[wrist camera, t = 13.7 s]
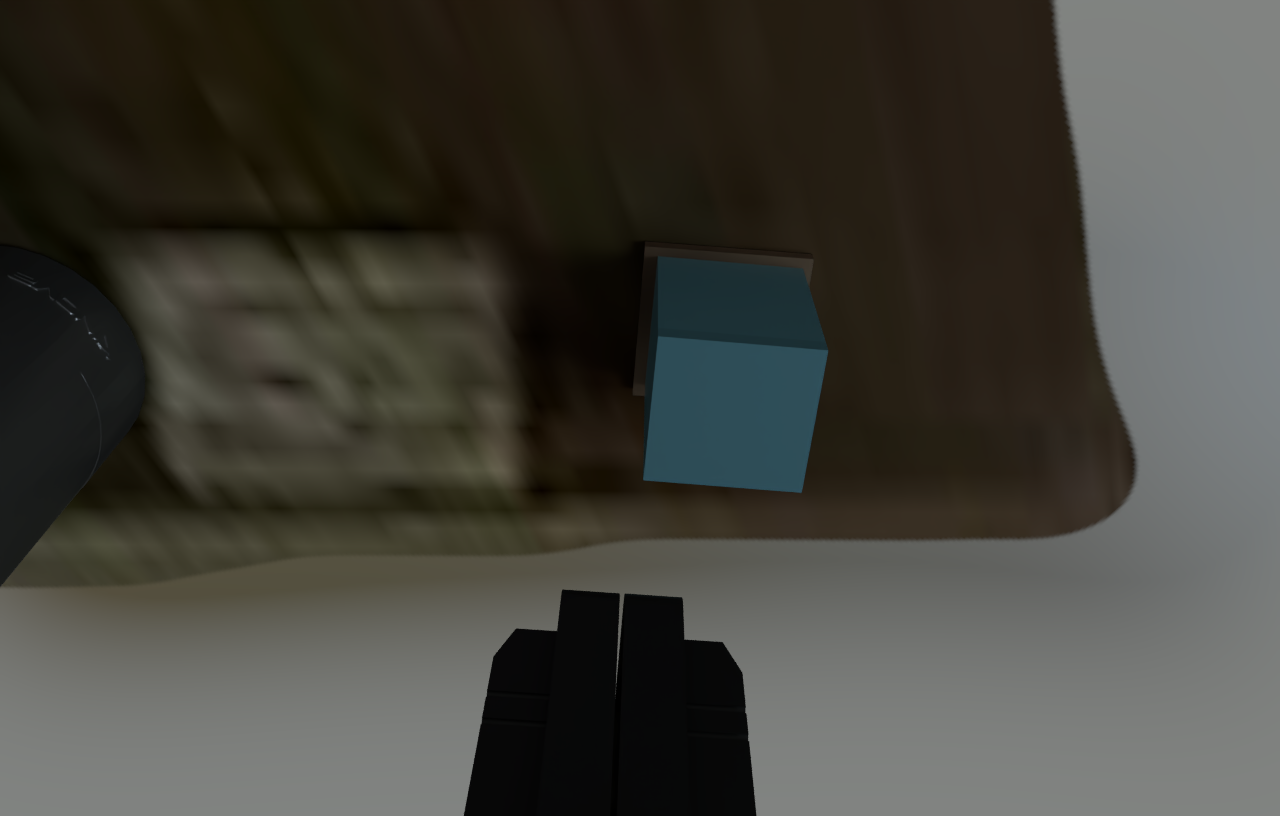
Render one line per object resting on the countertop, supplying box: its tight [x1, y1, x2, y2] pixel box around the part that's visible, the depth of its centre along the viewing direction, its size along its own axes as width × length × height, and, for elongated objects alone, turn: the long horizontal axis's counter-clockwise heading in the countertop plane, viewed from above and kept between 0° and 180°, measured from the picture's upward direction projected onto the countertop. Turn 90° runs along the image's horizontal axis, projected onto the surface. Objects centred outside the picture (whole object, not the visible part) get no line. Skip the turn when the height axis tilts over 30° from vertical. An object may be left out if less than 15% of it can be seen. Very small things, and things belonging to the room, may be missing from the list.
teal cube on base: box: [643, 256, 828, 493], centre depth 38 cm, size 5×5×7 cm
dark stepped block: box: [633, 241, 814, 396], centre depth 39 cm, size 6×6×6 cm
